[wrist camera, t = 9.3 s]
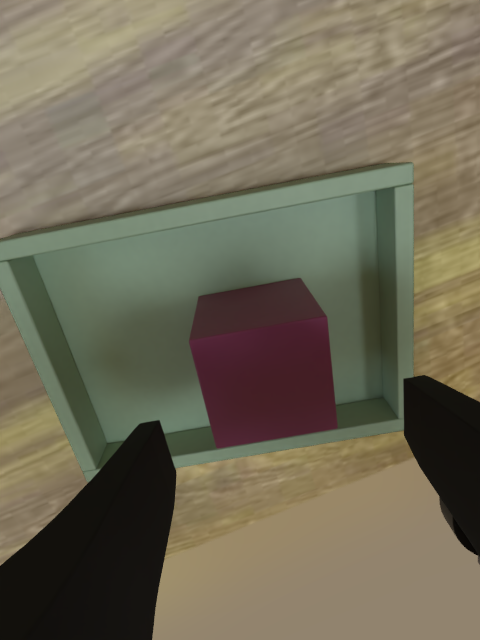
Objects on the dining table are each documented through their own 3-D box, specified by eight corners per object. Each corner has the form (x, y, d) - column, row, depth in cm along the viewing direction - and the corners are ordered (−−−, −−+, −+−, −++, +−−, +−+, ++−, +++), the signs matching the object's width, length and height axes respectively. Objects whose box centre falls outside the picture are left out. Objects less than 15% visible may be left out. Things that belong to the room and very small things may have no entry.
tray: (392, 399, 19) (414, 429, 17) (102, 447, 20) (86, 483, 17) (386, 163, 15) (414, 161, 12) (15, 233, 15) (-21, 245, 13)
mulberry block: (311, 367, 17) (338, 429, 13) (218, 383, 18) (216, 449, 13) (301, 276, 16) (327, 315, 12) (197, 295, 16) (187, 340, 12)
